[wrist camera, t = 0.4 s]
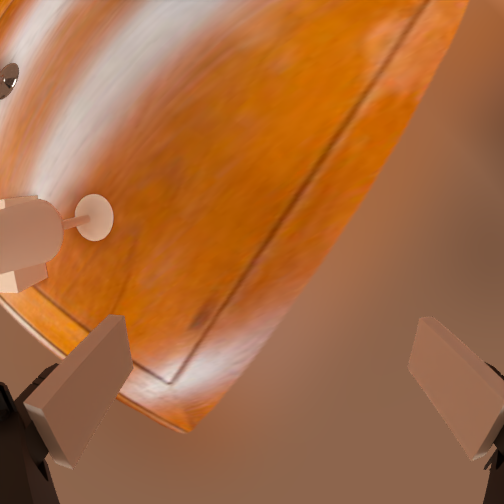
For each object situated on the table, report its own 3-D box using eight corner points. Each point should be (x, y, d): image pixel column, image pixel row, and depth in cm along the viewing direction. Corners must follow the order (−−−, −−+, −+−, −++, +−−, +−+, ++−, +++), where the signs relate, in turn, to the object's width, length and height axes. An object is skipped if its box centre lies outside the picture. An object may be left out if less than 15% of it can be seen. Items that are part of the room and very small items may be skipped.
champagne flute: (85, 248, 40) (-36, 305, 16) (68, 207, 39) (-61, 233, 15) (121, 229, 39) (-2, 277, 16) (102, 185, 38) (-30, 193, 15)
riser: (-11, 206, 38) (-41, 211, 30) (37, 195, 38) (4, 198, 30) (-1, 277, 41) (-29, 291, 33) (48, 277, 41) (18, 293, 33)
